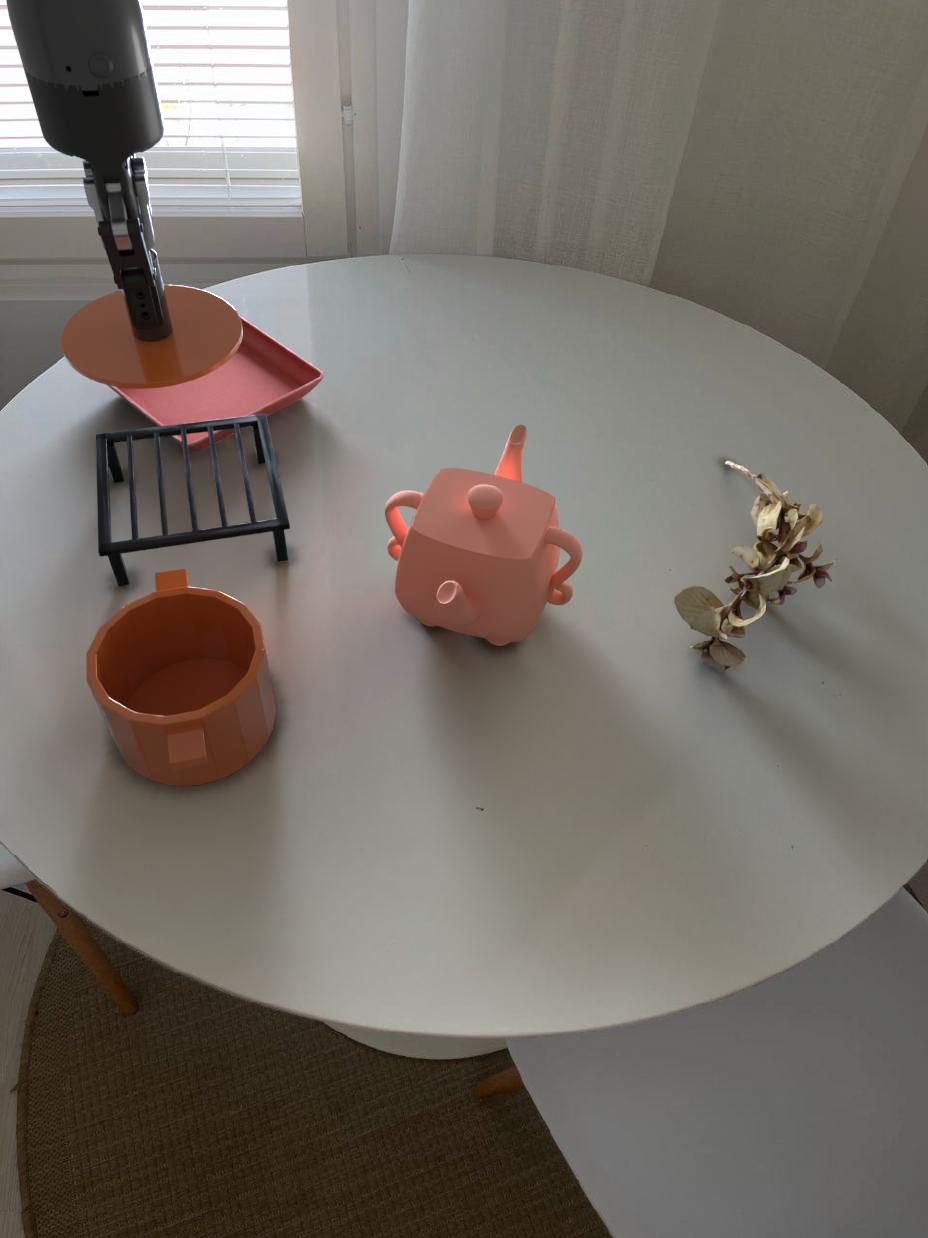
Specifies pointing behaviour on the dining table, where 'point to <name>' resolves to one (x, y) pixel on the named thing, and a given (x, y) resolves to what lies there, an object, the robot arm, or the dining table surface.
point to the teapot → (481, 550)
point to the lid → (152, 338)
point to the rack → (110, 460)
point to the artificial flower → (725, 621)
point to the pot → (183, 683)
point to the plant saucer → (230, 388)
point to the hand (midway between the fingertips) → (147, 311)
